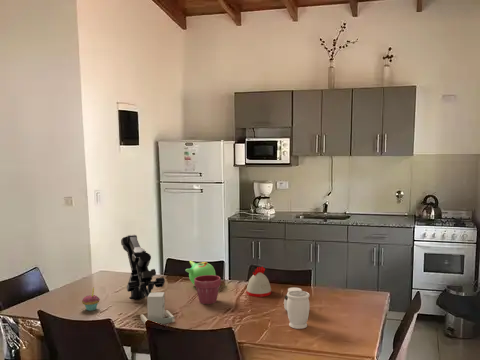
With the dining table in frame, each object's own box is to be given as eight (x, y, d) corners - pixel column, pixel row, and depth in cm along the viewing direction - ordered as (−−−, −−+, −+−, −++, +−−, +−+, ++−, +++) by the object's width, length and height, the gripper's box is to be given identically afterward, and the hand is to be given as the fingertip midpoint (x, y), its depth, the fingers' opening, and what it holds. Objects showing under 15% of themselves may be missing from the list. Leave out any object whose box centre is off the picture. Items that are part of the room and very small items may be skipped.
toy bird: (214, 290, 269) (214, 265, 268) (185, 290, 269) (185, 265, 269) (216, 281, 287) (216, 257, 286) (189, 281, 287) (188, 258, 286)
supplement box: (163, 323, 219) (162, 296, 218) (147, 323, 218) (146, 296, 218) (165, 317, 226) (164, 291, 225) (150, 317, 226) (149, 292, 225)
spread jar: (290, 316, 225) (290, 293, 225) (278, 309, 235) (278, 287, 235) (310, 312, 231) (310, 289, 230) (297, 305, 241) (297, 283, 240)
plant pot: (199, 296, 257) (198, 273, 257) (223, 298, 254) (223, 275, 254) (191, 305, 243) (190, 281, 243) (217, 306, 241) (216, 282, 240)
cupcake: (103, 307, 241) (102, 284, 240) (92, 312, 233) (92, 289, 232) (89, 305, 244) (88, 283, 243) (78, 311, 236) (78, 287, 235)
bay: (140, 319, 224) (140, 314, 224) (167, 314, 230) (167, 310, 230) (146, 326, 214) (146, 322, 214) (174, 321, 220) (174, 317, 220)
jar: (284, 321, 218) (284, 290, 217) (306, 321, 219) (306, 289, 218) (289, 330, 208) (289, 297, 207) (311, 329, 209) (311, 296, 208)
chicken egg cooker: (276, 293, 261) (275, 267, 260) (256, 298, 254) (256, 271, 253) (261, 288, 273) (261, 262, 272) (241, 292, 265) (241, 266, 264)
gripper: (127, 266, 234) (133, 293, 224) (163, 261, 242) (170, 288, 233) (124, 277, 241) (129, 304, 232) (159, 273, 249) (166, 299, 240)
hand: (149, 299), depth 234 cm, fingers closed
